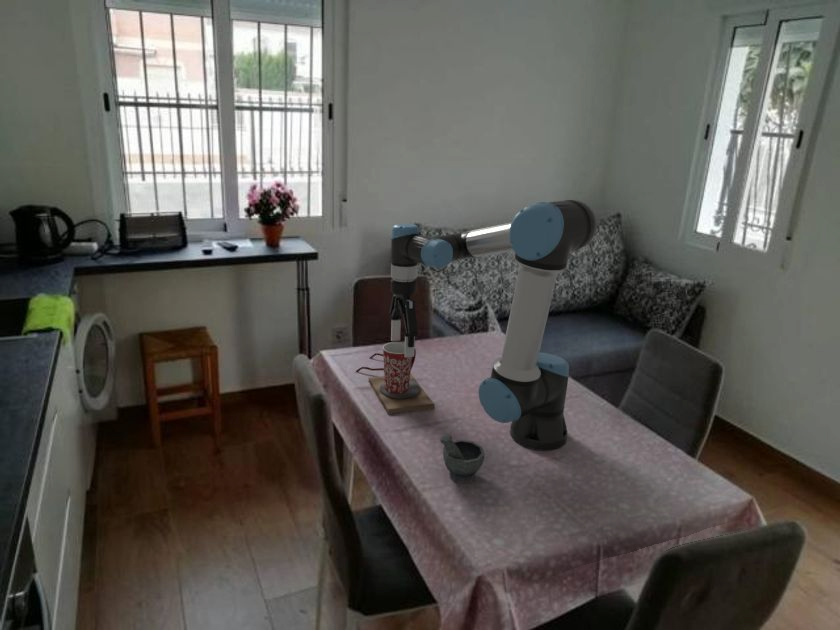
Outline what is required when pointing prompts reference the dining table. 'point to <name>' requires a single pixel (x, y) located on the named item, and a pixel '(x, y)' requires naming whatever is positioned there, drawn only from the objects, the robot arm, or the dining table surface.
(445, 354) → the dining table surface
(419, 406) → the board
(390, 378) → the mug
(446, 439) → the mortar and pestle
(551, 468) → the dining table surface
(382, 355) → the glasses
